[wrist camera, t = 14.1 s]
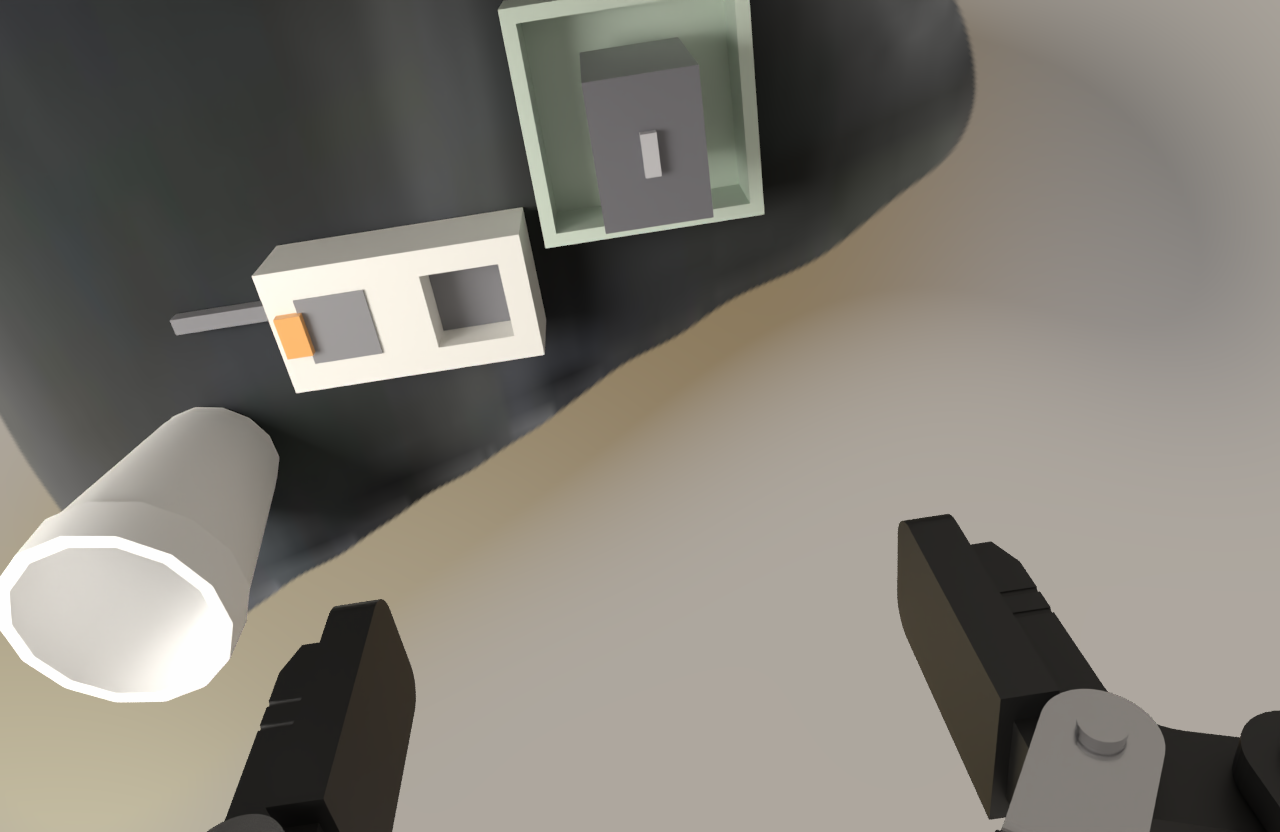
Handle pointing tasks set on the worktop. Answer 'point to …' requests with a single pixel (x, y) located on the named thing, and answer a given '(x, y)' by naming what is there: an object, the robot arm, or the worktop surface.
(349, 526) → the worktop surface
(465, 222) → the power strip
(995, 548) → the robot arm
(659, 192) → the block
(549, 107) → the tray
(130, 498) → the foam cup
